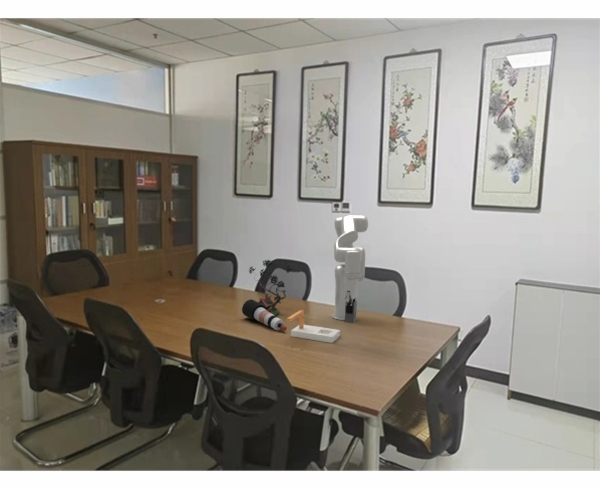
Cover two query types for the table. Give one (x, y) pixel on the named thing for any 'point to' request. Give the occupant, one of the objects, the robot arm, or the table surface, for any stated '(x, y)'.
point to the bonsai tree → (267, 301)
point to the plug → (351, 317)
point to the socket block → (316, 333)
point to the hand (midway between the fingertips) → (350, 311)
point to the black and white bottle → (262, 315)
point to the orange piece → (296, 315)
